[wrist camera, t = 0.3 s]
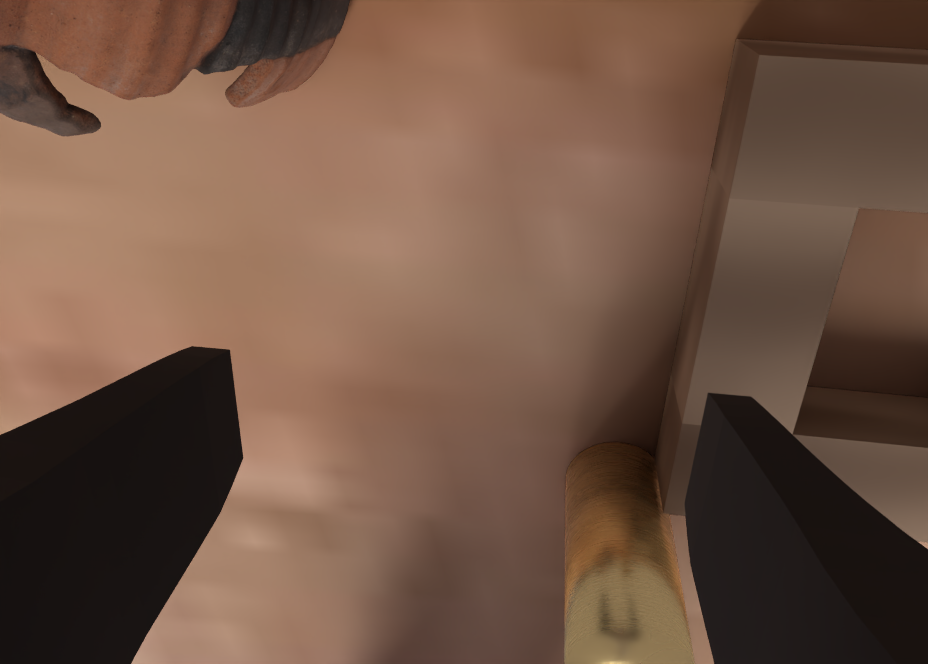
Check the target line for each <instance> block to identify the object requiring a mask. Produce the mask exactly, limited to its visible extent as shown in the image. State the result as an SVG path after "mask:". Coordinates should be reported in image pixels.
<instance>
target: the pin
mask: <svg viewBox="0 0 928 664" xmlns="http://www.w3.org/2000/svg"><path fill="white" fill-rule="evenodd" d="M564 664H695V662H694V656H693V650H692V644H691V638H690V632H689V627H688V621H687V615H686V609H685V603H684V597H683V591H682V585H681V579H680V573H679V567H678V561H677V555H676V550H675V544H674V538H673V532H672V526H671V520H670V514H664V513H663V508H662V502H661V496H660V490H659V483H658V477H657V471H656V465H655V459H654V458H653V457H652V456H651V455H650V454H649V453H647V452H646V451H645V450H643V449H641V448H639V447H636V446H634V445H630V444H626V443H619V442H609V443H602V444H598V445H594V446H592V447H590V448H588V449H586V450H584V451H582V452H581V453H580V454H578V455H577V456H576V457H575V458H574V460H573V461H572V462H571V464H570V465H569V467H568V470H567V473H566V485H565V613H564Z"/></svg>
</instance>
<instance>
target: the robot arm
mask: <svg viewBox="0 0 928 664" xmlns="http://www.w3.org/2000/svg"><path fill="white" fill-rule="evenodd" d="M242 460H243V452H242V444H241V436H240V428H239V420H238V412H237V404H236V396H235V388H234V380H233V372H232V364H231V356H230V350H227V349H216V348H205V347H194V346H192V347H189V348H186V349H183V350H181V351H178V352H176V353H174V354H171V355H169V356H167V357H165V358H162V359H160V360H158V361H156V362H154V363H152V364H150V365H148V366H146V367H144V368H142V369H140V370H138V371H136V372H134V373H132V374H130V375H128V376H126V377H124V378H122V379H120V380H118V381H116V382H114V383H112V384H110V385H107V386H105V387H103V388H101V389H99V390H97V391H95V392H93V393H91V394H89V395H87V396H85V397H83V398H81V399H79V400H77V401H75V402H73V403H71V404H68V405H66V406H64V407H62V408H60V409H57V410H55V411H53V412H51V413H49V414H46V415H44V416H42V417H40V418H37V419H35V420H33V421H31V422H29V423H26V424H24V425H22V426H20V427H18V428H15V429H13V430H11V431H9V432H6V433H4V434H1V435H0V664H131V663H132V661H133V659H134V657H135V655H136V653H137V651H138V650H139V648H140V646H141V644H142V642H143V641H144V639H145V637H146V635H147V633H148V632H149V630H150V628H151V627H152V625H153V623H154V622H155V620H156V618H157V617H158V615H159V614H160V612H161V610H162V609H163V607H164V605H165V604H166V602H167V600H168V599H169V597H170V595H171V594H172V592H173V591H174V589H175V587H176V586H177V584H178V582H179V581H180V579H181V577H182V576H183V574H184V573H185V571H186V569H187V568H188V566H189V564H190V563H191V561H192V559H193V558H194V556H195V554H196V553H197V551H198V549H199V548H200V546H201V544H202V543H203V541H204V539H205V538H206V536H207V534H208V533H209V531H210V529H211V528H212V526H213V524H214V522H215V521H216V519H217V517H218V516H219V514H220V512H221V510H222V508H223V505H224V503H225V501H226V498H227V496H228V494H229V492H230V489H231V487H232V485H233V482H234V480H235V477H236V475H237V472H238V470H239V467H240V465H241V462H242ZM684 505H685V516H686V527H687V537H688V546H689V555H690V564H691V568H692V572H693V577H694V581H695V585H696V590H697V594H698V598H699V602H700V606H701V611H702V615H703V619H704V623H705V627H706V631H707V635H708V639H709V643H710V647H711V651H712V655H713V659H714V664H928V549H927V548H925V547H924V546H923V545H921V544H920V543H919V542H917V541H916V540H915V539H913V538H912V537H911V536H909V535H908V534H906V533H905V532H904V531H903V530H901V529H900V528H899V527H897V526H896V525H895V524H894V523H893V522H891V521H890V520H889V519H888V518H886V517H885V516H884V515H883V514H881V513H880V512H879V511H878V510H876V509H875V508H874V507H873V506H872V505H870V504H869V503H868V502H867V501H865V500H864V499H863V498H862V497H861V496H859V495H858V494H857V493H856V492H855V491H854V490H852V489H851V488H850V487H849V486H848V485H847V484H845V483H844V482H843V481H842V480H841V479H840V478H839V477H838V476H836V475H835V474H834V473H833V472H832V471H831V470H830V469H829V468H828V467H827V466H825V465H824V464H823V463H822V462H821V461H820V460H819V459H818V458H817V457H816V456H815V455H813V454H812V453H811V452H810V451H809V450H808V449H807V448H806V447H805V446H804V445H803V444H802V443H801V442H800V441H799V440H798V439H797V438H795V437H794V436H793V435H792V434H791V433H790V432H789V431H788V430H787V429H786V428H785V427H784V426H783V425H782V424H781V423H780V422H779V421H778V420H777V419H776V418H774V417H773V416H772V415H771V414H770V413H769V412H768V411H767V410H766V409H765V408H764V407H763V406H762V405H760V404H759V403H758V402H757V401H756V400H755V399H754V398H752V397H751V396H740V395H729V394H718V393H708V394H707V399H706V404H705V408H704V413H703V418H702V423H701V427H700V432H699V437H698V441H697V446H696V451H695V456H694V460H693V465H692V470H691V474H690V479H689V484H688V488H687V493H686V498H685V503H684Z"/></svg>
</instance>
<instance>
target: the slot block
mask: <svg viewBox="0 0 928 664" xmlns="http://www.w3.org/2000/svg"><path fill="white" fill-rule="evenodd" d="M859 208H865V209H878V210H892V211H905V212H919V213H928V50H924V49H907V48H889V47H871V46H854V45H836V44H818V43H800V42H783V41H765V40H747V39H736V41H735V46H734V51H733V57H732V62H731V67H730V72H729V77H728V82H727V87H726V93H725V98H724V103H723V108H722V113H721V118H720V123H719V129H718V134H717V139H716V144H715V149H714V154H713V159H712V165H711V170H710V175H709V180H708V185H707V190H706V196H705V201H704V206H703V211H702V216H701V221H700V226H699V232H698V237H697V242H696V247H695V252H694V257H693V262H692V268H691V273H690V278H689V283H688V288H687V293H686V298H685V304H684V309H683V314H682V319H681V324H680V329H679V334H678V340H677V345H676V350H675V355H674V360H673V365H672V370H671V376H670V381H669V386H668V391H667V396H666V401H665V406H664V412H663V417H662V422H661V427H660V432H659V437H658V442H657V448H656V453H655V465H656V471H657V477H658V483H659V490H660V496H661V502H662V508H663V513H664V514H673V515H682V516H685V505H684V503H685V498H686V493H687V488H688V484H689V479H690V474H691V470H692V465H693V460H694V456H695V451H696V446H697V441H698V437H699V432H700V427H701V423H702V418H703V413H704V408H705V404H706V399H707V394H708V393H718V394H729V395H740V396H751V397H752V398H754V399H755V400H756V401H757V402H758V403H759V404H760V405H762V406H763V407H764V408H765V409H766V410H767V411H768V412H769V413H770V414H771V415H772V416H773V417H774V418H776V419H777V420H778V421H779V422H780V423H781V424H782V425H783V426H784V427H785V428H786V429H787V430H788V431H789V432H790V433H791V434H792V435H793V436H794V437H795V438H797V439H798V440H799V441H800V442H801V443H802V444H803V445H804V446H805V447H806V448H807V449H808V450H809V451H810V452H811V453H812V454H813V455H815V456H816V457H817V458H818V459H819V460H820V461H821V462H822V463H823V464H824V465H825V466H827V467H828V468H829V469H830V470H831V471H832V472H833V473H834V474H835V475H836V476H838V477H839V478H840V479H841V480H842V481H843V482H844V483H845V484H847V485H848V486H849V487H850V488H851V489H852V490H854V491H855V492H856V493H857V494H858V495H859V496H861V497H862V498H863V499H864V500H865V501H867V502H868V503H869V504H870V505H872V506H873V507H874V508H875V509H876V510H878V511H879V512H880V513H881V514H883V515H884V516H885V517H886V518H888V519H889V520H890V521H891V522H893V523H894V524H895V525H896V526H897V527H899V528H900V529H901V530H903V531H904V532H905V533H906V534H908V535H909V536H911V537H912V538H913V539H915V540H916V541H919V542H928V398H925V397H914V396H903V395H893V394H882V393H872V392H861V391H850V390H840V389H829V388H819V387H808V386H807V383H808V380H809V377H810V373H811V370H812V366H813V363H814V360H815V356H816V353H817V349H818V346H819V343H820V339H821V336H822V332H823V329H824V326H825V322H826V319H827V316H828V312H829V309H830V305H831V302H832V299H833V295H834V292H835V288H836V285H837V282H838V278H839V275H840V271H841V268H842V265H843V261H844V258H845V254H846V251H847V248H848V244H849V241H850V237H851V234H852V231H853V227H854V224H855V220H856V217H857V214H858V210H859Z"/></svg>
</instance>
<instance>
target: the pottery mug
mask: <svg viewBox="0 0 928 664" xmlns="http://www.w3.org/2000/svg"><path fill="white" fill-rule="evenodd" d="M349 2H350V0H0V113H2V114H3V115H5V116H7V117H9V118H11V119H14V120H17V121H20V122H25V123H28V124H31V125H34V126H37V127H41V128H44V129H47V130H49V131H51V132H53V133H55V134H58V135H60V136H74V135H81V134H88V133H93V132H96V131H97V130H98V129H100V127H101V123H100V121H99V119H98V118H97V117H96V116H95V115H94V114H92V113H90V112H89V111H86V110H84V109H81V108H79V107H77V106H74V105H71V104H69V103H67V100H66V98H65V97H64V96H63V95H62V94H61V93H60V92H59V91H57V90H56V88H55V87H54V86H53V85H52V83H51V82H50V80H49V78H48V77H47V76H46V75H45V73H44V71H43V68H42V65H41V63H40V61H39V59H38V58H37V55H36V53H38V54H40V55H42V56H43V57H44V58H46V59H47V60H48V61H50V62H51V63H53V64H54V65H55V66H57V67H58V68H59V69H61V70H64V71H68V72H71V73H74V74H75V75H77V76H78V77H79V78H80V79H82V80H83V81H85V82H87V83H89V84H91V85H93V86H95V87H98V88H101V89H104V90H106V91H108V92H110V93H112V94H114V95H116V96H118V97H120V98H123V99H127V100H132V99H136V98H139V97H155V96H158V95H162V94H167V93H169V92H171V91H172V90H174V89H175V88H176V87H177V86H178V85H179V84H180V82H181V81H182V80H183V79H184V78H185V77H186V76H187V75H188V73H189V72H190V71H191V70H192V69H197V70H198V71H200V72H201V73H203V74H210V73H213V72H224V71H229V70H233V69H235V68H236V67H237V66H242V65H249V66H248V67H247V68H246V69H245V71H244V72H243V73H242V75H240V76H239V77H238V78H237V80H236V81H235V82H234V83H233V84H232V85H231V86H229V87H228V88H227V89H226V92H225V95H226V97H227V99H228V101H229V102H230V104H231V105H233V106H234V107H247V106H252V105H255V104H257V103H260V102H262V101H265V100H267V99H269V98H271V97H273V96H275V95H277V94H278V93H282V92H287V91H290V90H293V89H296V88H297V87H298V86H299V85H301V84H302V83H303V82H305V81H306V80H307V79H308V78H309V77H311V76H312V74H313V73H314V72H315V71H316V70H317V68H318V67H319V66H320V65H321V64H322V62H323V61H324V59H325V58H326V56H327V54H328V52H329V51H330V49H331V47H332V46H333V44H334V41H335V38H336V36H337V34H338V33H339V32H340V30H341V28H342V25H343V23H344V20H345V16H346V13H347V10H348V5H349ZM35 52H36V53H35Z"/></svg>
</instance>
